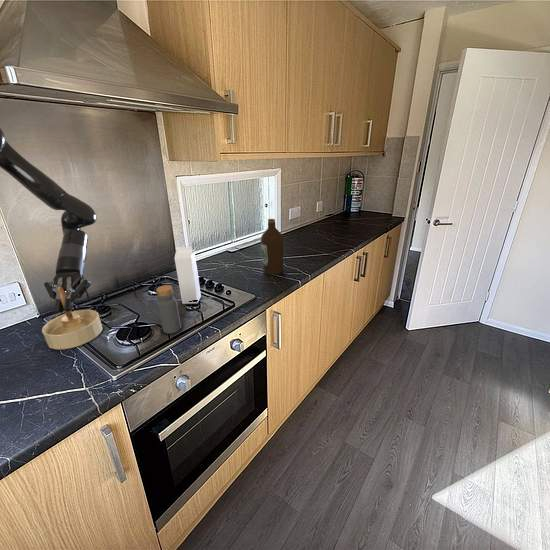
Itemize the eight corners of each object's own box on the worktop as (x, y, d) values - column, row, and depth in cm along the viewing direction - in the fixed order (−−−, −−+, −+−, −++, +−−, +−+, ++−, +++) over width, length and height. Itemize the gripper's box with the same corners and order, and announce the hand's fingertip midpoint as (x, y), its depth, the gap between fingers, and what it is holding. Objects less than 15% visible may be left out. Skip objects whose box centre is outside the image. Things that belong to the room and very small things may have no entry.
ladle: (59, 328, 91) (45, 290, 86) (70, 319, 96) (57, 283, 90) (74, 328, 91) (60, 290, 86) (84, 319, 95) (72, 283, 90)
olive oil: (279, 265, 147) (278, 216, 137) (287, 273, 138) (286, 220, 128) (259, 268, 144) (256, 218, 134) (266, 276, 135) (263, 223, 125)
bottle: (162, 326, 99) (154, 286, 93) (180, 322, 101) (173, 282, 95) (163, 335, 94) (154, 293, 88) (182, 331, 96) (174, 290, 90)
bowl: (35, 350, 89) (28, 335, 86) (71, 323, 102) (66, 309, 100) (83, 351, 87) (77, 336, 85) (112, 323, 101) (108, 309, 99)
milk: (186, 297, 118) (177, 244, 110) (201, 296, 118) (193, 244, 110) (182, 304, 113) (172, 249, 104) (197, 303, 113) (189, 249, 104)
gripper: (41, 256, 91) (30, 310, 85) (87, 253, 92) (79, 306, 86) (57, 266, 98) (47, 316, 92) (99, 263, 99) (93, 313, 93)
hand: (63, 311), depth 89 cm, fingers closed on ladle
